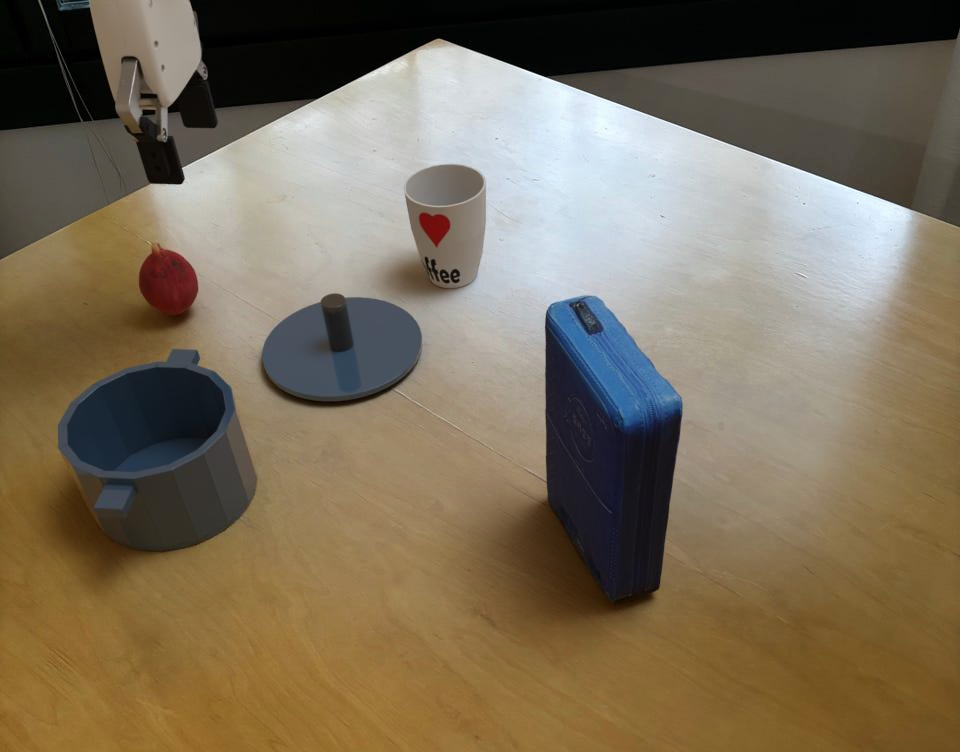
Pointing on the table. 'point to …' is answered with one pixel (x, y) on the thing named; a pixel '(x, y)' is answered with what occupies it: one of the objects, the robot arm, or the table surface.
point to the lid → (342, 348)
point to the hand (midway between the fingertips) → (184, 153)
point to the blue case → (608, 446)
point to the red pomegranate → (168, 281)
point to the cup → (448, 221)
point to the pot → (159, 453)
